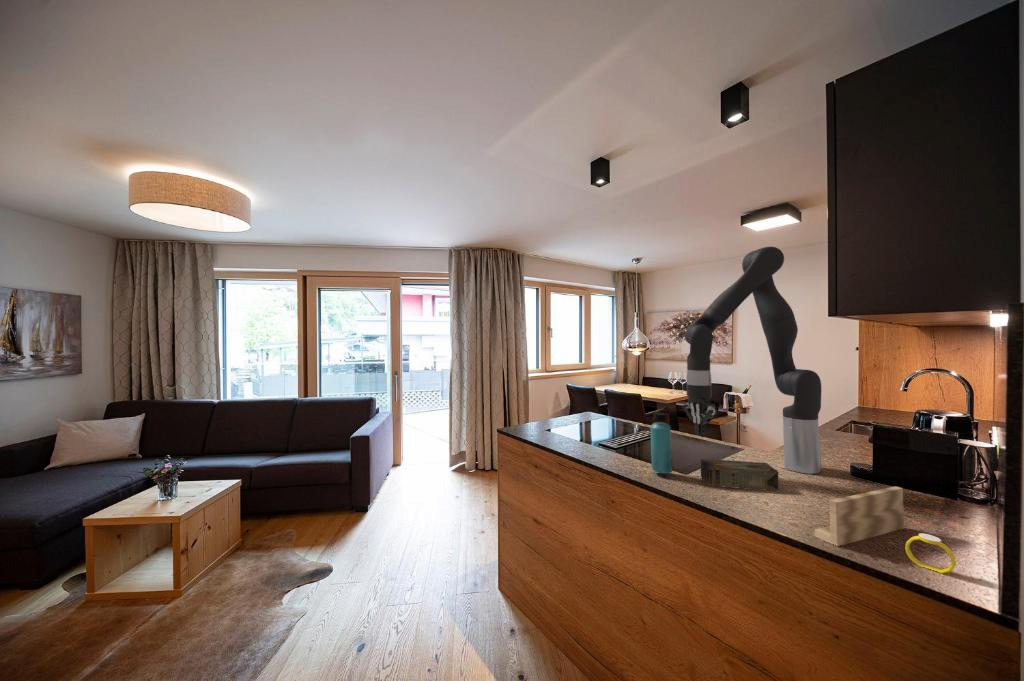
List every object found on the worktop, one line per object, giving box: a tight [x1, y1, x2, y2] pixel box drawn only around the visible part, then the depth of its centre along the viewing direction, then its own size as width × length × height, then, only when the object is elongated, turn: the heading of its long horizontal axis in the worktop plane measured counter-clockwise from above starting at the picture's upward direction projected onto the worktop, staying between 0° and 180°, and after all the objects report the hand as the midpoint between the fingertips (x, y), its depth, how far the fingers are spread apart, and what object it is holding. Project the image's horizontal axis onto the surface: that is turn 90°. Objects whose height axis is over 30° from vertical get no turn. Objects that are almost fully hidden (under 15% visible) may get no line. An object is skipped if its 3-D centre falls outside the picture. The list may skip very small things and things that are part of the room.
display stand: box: [814, 486, 905, 547], centre depth 79 cm, size 22×4×9 cm, turn 107°
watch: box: [904, 532, 957, 575], centre depth 66 cm, size 6×3×6 cm, turn 34°
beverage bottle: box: [649, 412, 674, 474], centre depth 117 cm, size 6×7×20 cm
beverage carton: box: [700, 458, 780, 491], centre depth 108 cm, size 8×19×7 cm, turn 77°
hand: (699, 434), depth 121 cm, fingers closed
